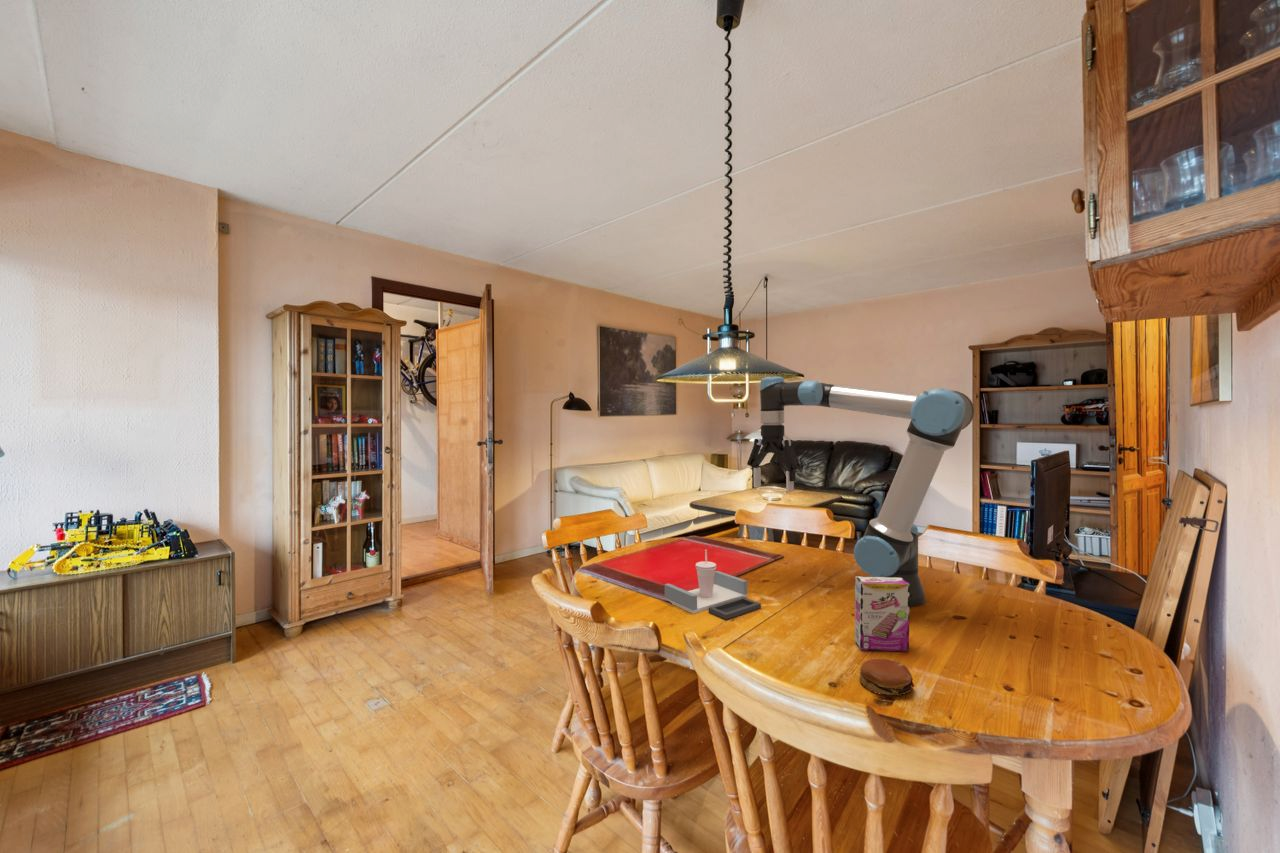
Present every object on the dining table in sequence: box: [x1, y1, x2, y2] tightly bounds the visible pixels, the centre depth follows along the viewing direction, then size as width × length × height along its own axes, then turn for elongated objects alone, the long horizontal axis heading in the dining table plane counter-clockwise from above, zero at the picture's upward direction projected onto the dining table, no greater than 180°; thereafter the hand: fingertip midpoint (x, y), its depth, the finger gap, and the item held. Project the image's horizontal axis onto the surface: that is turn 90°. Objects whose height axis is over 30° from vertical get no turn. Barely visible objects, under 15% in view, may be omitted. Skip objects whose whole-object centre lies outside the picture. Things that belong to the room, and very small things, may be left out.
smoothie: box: [695, 549, 717, 598], centre depth 155 cm, size 6×6×14 cm
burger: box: [859, 658, 915, 696], centre depth 104 cm, size 10×9×5 cm
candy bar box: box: [854, 575, 910, 653], centre depth 121 cm, size 11×5×16 cm, turn 84°
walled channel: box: [664, 570, 748, 615], centre depth 155 cm, size 13×22×5 cm, turn 125°
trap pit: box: [708, 597, 762, 621], centre depth 145 cm, size 7×14×2 cm, turn 125°
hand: (773, 489), depth 166 cm, fingers open, 13 cm apart
